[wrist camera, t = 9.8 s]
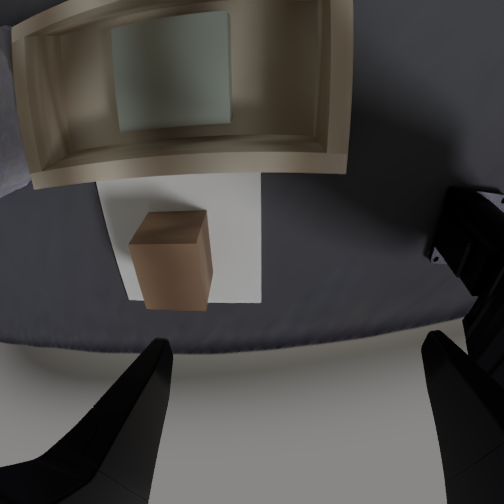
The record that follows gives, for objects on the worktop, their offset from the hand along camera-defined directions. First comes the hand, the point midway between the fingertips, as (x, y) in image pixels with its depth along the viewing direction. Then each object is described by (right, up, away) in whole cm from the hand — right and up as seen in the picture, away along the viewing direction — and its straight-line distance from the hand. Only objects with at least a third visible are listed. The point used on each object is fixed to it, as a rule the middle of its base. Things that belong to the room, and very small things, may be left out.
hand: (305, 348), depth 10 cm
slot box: (-6, +13, +5) cm, 16 cm away
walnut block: (-7, +4, +12) cm, 14 cm away
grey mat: (-7, +4, +12) cm, 14 cm away
